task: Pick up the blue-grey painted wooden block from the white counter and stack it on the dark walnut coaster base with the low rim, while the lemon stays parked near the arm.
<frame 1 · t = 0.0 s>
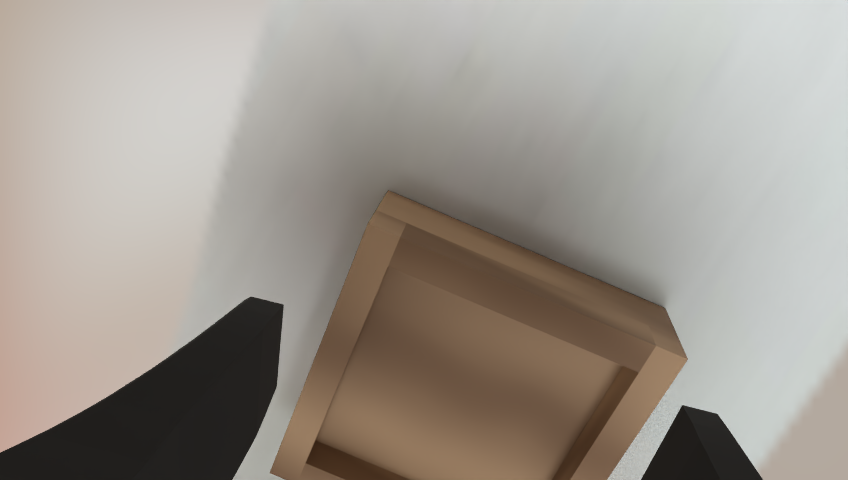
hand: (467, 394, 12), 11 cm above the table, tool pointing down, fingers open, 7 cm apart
walnut base: (467, 366, 24), on the table
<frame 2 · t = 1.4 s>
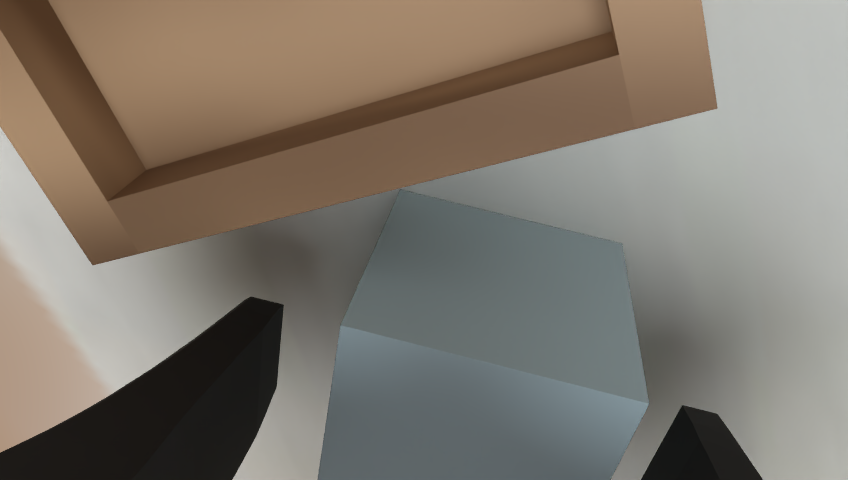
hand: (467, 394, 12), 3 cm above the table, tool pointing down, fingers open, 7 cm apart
block: (484, 302, 14), on the table
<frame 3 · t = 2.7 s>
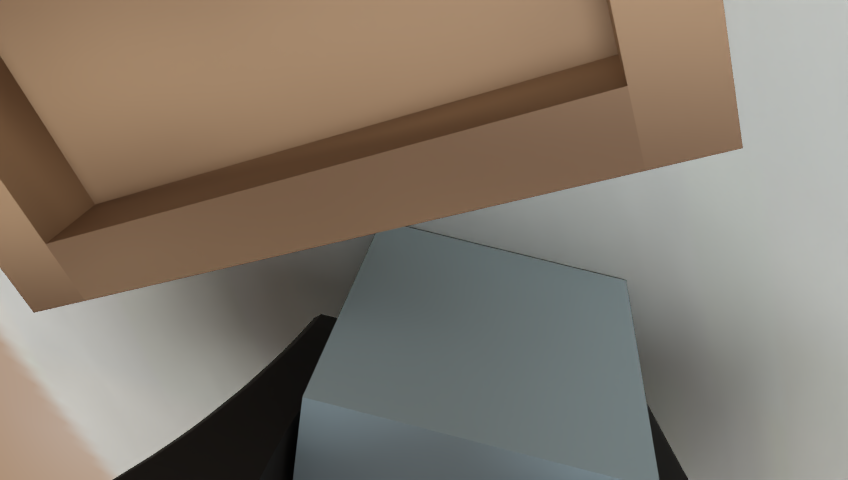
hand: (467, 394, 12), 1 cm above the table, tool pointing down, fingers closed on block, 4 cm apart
block: (475, 343, 13), on the table, touching gripper
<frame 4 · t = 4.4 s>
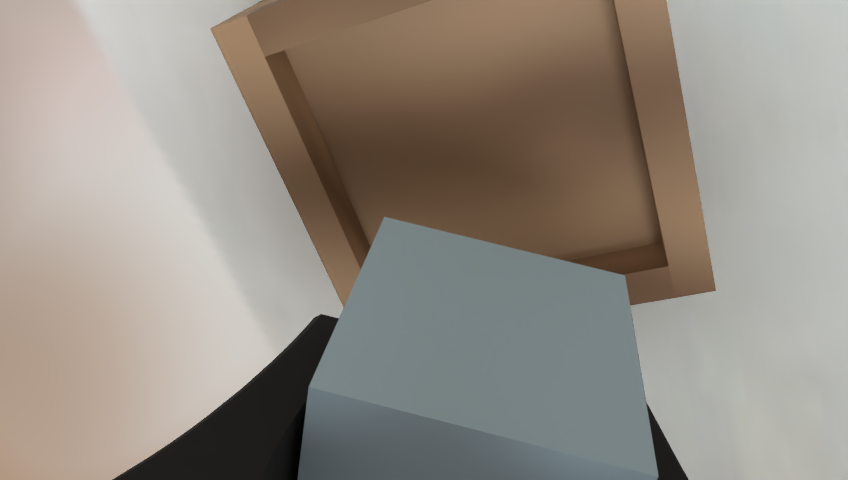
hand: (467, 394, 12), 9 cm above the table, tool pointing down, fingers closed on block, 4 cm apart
block: (476, 338, 13), point 8 cm above the table, touching gripper
walnut base: (484, 119, 19), on the table
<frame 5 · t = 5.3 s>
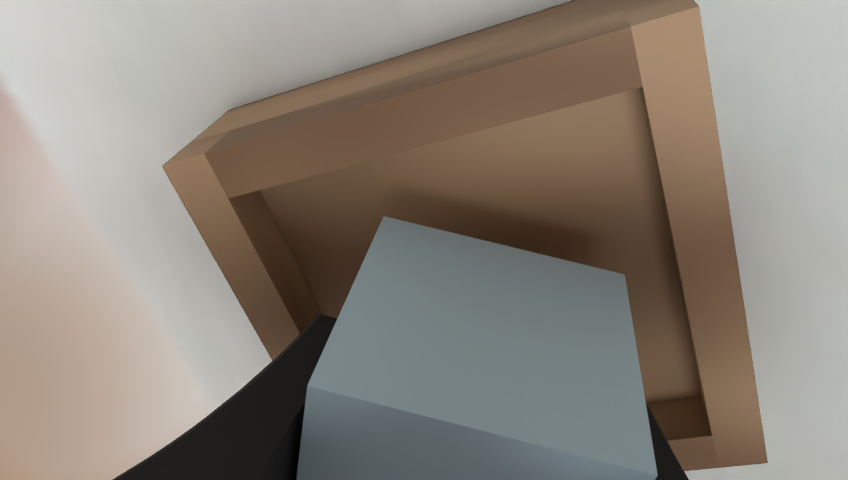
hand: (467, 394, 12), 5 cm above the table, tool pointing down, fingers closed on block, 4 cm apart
block: (476, 337, 13), point 4 cm above the table, touching gripper
walnut base: (491, 242, 16), on the table
when the fingers open (5 cm above the table, at t = 6.3 s): block drops 1 cm, resting on walnut base.
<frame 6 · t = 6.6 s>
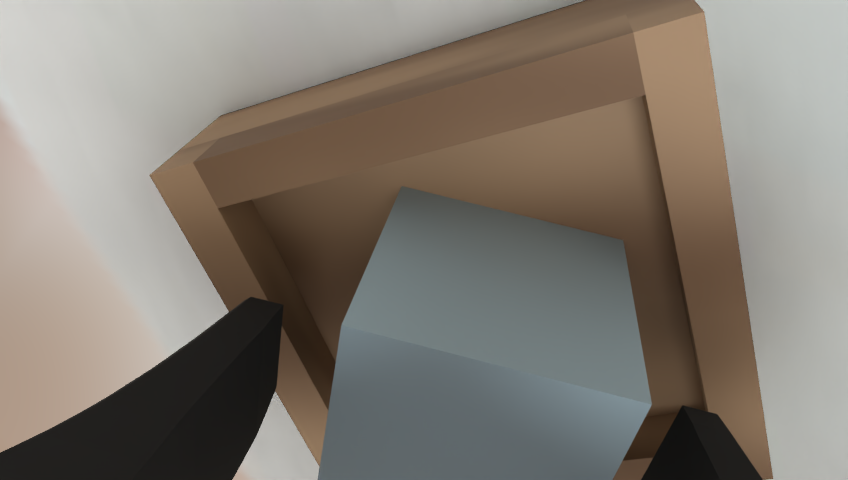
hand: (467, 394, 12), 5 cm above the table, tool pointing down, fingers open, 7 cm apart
block: (485, 301, 14), point 2 cm above the table, touching walnut base
walnut base: (489, 251, 16), on the table
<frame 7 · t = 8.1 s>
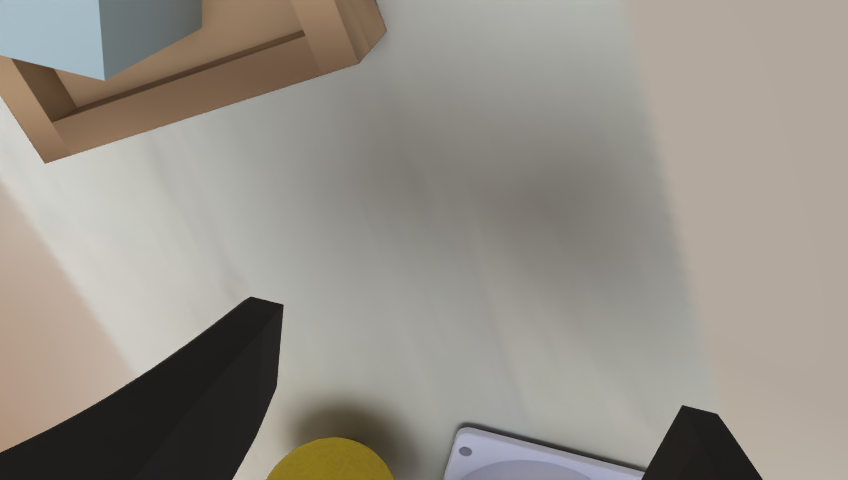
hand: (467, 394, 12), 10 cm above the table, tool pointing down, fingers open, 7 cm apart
lemon: (353, 440, 28), on the table
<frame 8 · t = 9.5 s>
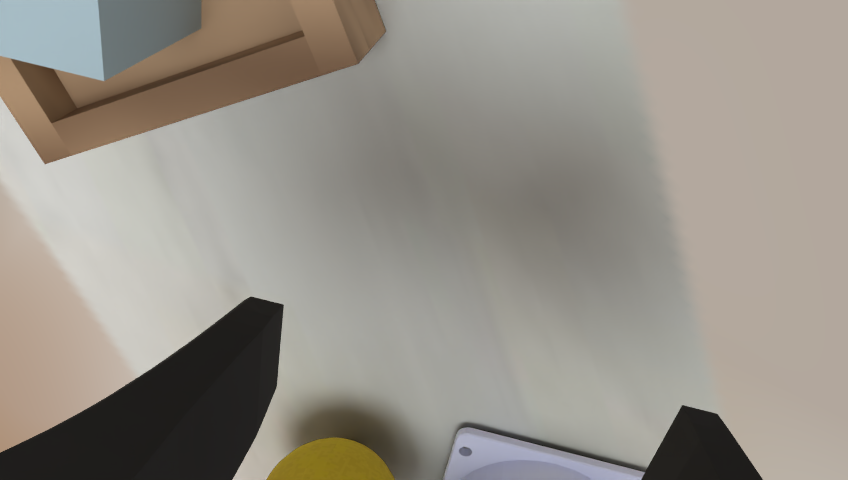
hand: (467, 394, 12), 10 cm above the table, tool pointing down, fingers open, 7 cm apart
lemon: (353, 440, 28), on the table
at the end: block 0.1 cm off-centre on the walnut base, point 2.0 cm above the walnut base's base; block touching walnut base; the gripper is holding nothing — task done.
